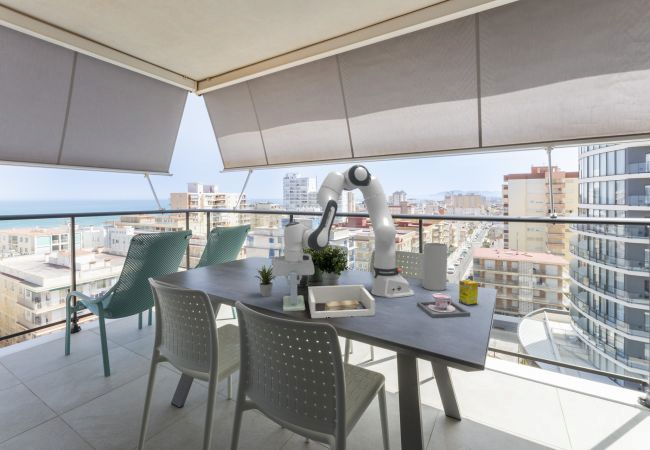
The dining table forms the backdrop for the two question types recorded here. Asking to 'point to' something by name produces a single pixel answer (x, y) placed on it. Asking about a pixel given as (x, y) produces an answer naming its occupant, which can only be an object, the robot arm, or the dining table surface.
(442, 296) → the teacup
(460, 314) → the coaster tray
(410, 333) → the dining table surface
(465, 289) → the supplement box
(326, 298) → the white open bin
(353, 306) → the offcut stack
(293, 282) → the light grey square panel
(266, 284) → the house plant
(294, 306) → the sage board
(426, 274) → the cylinder vase
